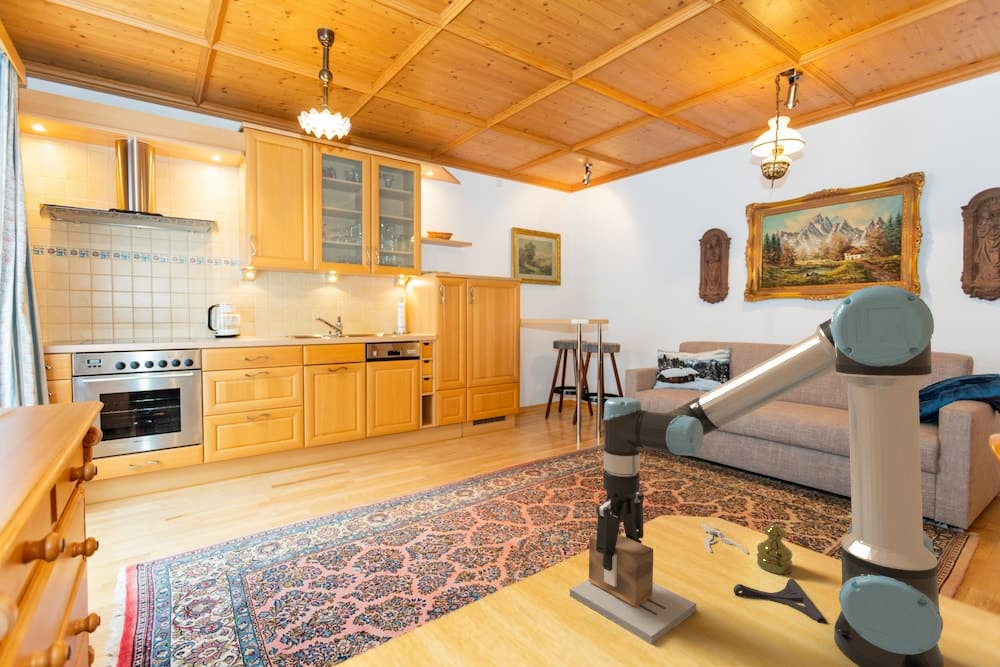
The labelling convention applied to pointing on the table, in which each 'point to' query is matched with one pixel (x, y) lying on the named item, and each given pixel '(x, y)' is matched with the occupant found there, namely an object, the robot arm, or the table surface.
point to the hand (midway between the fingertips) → (620, 577)
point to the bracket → (784, 598)
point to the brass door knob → (774, 551)
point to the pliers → (715, 532)
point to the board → (637, 609)
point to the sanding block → (625, 570)
